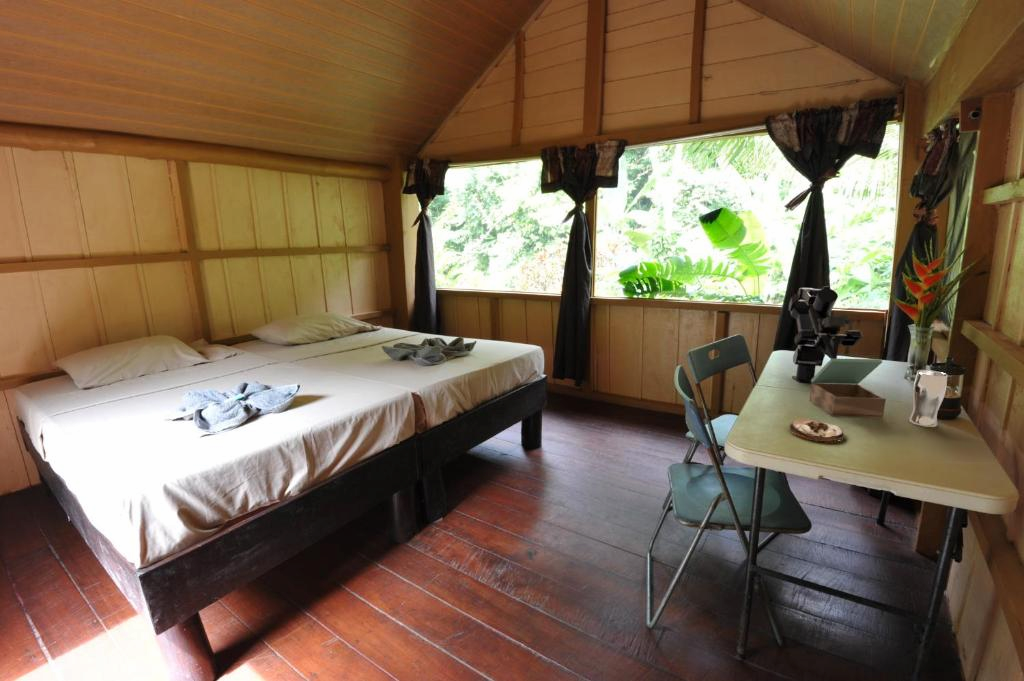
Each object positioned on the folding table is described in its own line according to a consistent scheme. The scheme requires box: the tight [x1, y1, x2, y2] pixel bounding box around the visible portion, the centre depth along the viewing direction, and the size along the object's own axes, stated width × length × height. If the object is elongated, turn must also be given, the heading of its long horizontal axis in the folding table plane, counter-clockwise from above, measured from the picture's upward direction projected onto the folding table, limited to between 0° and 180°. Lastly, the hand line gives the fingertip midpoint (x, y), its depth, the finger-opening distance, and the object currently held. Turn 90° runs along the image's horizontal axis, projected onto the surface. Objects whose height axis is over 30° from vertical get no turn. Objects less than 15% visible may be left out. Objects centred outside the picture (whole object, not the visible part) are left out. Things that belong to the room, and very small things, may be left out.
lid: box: [810, 358, 883, 385], centre depth 152 cm, size 14×14×2 cm
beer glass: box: [909, 369, 948, 428], centre depth 139 cm, size 7×7×15 cm
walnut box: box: [808, 382, 887, 419], centre depth 151 cm, size 14×14×6 cm
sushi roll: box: [789, 418, 844, 443], centre depth 134 cm, size 15×15×4 cm
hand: (834, 359), depth 157 cm, fingers closed
